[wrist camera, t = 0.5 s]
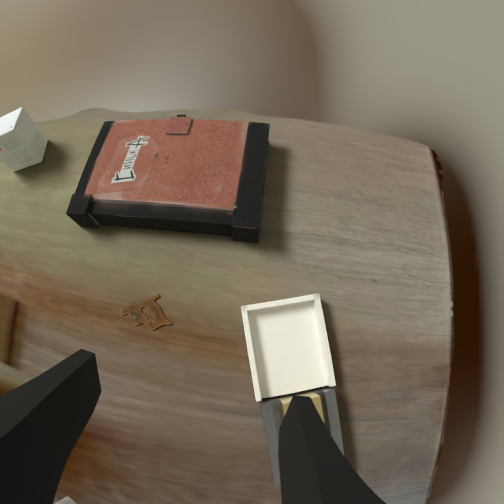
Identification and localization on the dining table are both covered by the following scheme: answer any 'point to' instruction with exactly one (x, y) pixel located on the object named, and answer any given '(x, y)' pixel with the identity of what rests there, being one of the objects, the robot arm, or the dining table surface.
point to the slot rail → (274, 421)
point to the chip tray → (287, 346)
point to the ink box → (66, 501)
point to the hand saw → (139, 317)
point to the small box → (21, 140)
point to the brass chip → (315, 398)
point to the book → (175, 177)
